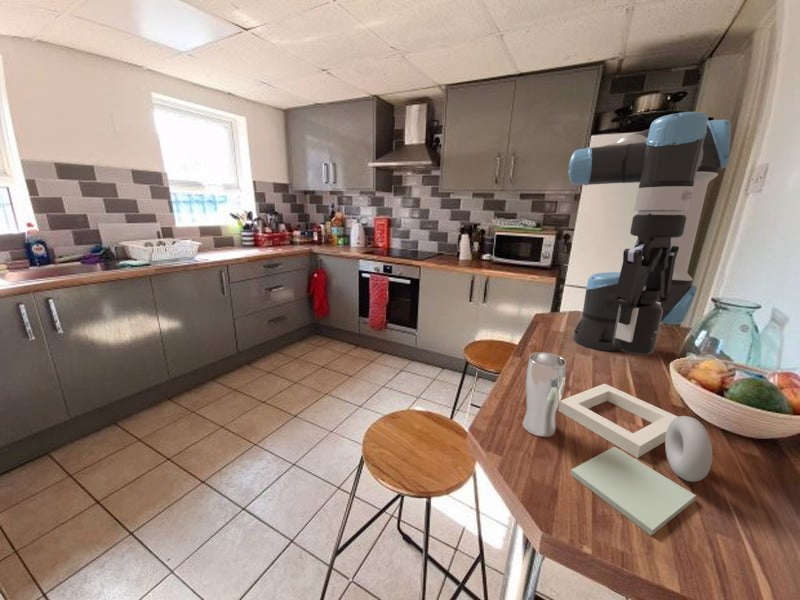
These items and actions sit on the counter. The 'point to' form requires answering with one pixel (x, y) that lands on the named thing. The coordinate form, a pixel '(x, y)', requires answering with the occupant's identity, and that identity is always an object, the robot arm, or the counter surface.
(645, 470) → the mat
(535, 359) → the beer glass
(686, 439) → the donut
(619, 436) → the holder
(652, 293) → the supplement bottle
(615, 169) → the robot arm
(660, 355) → the counter surface
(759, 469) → the counter surface
